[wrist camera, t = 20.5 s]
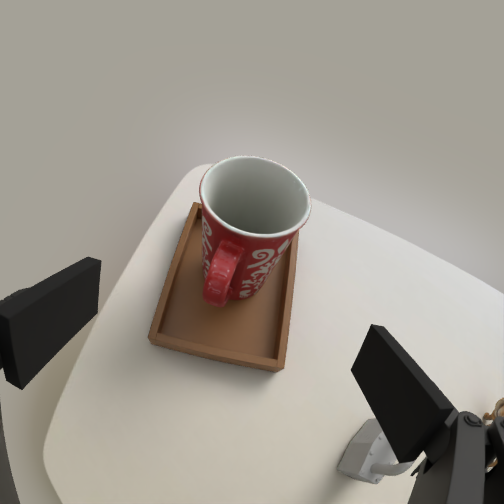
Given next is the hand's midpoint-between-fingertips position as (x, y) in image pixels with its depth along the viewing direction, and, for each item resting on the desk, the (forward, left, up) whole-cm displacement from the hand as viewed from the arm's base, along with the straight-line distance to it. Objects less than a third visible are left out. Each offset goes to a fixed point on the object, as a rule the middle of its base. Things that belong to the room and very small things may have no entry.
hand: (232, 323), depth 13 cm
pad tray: (0, +11, -18) cm, 21 cm away
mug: (0, +11, -18) cm, 21 cm away
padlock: (+18, -6, -18) cm, 27 cm away
